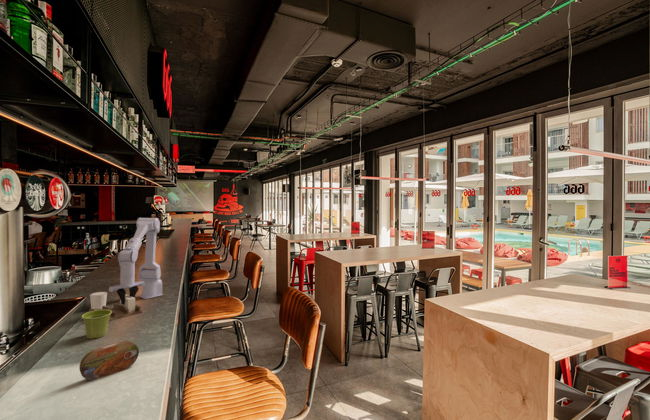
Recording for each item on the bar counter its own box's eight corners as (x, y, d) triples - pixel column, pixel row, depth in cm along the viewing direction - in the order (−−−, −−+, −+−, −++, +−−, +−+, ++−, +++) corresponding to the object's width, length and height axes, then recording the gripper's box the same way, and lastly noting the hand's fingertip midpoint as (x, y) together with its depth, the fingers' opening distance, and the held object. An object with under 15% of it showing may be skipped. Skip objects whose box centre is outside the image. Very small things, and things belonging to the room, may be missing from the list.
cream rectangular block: (126, 306, 149) (127, 294, 149) (135, 310, 144) (135, 298, 143) (119, 308, 146) (120, 295, 146) (128, 312, 141) (128, 299, 141)
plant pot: (117, 332, 121) (117, 311, 121) (92, 342, 112) (92, 319, 112) (100, 329, 124) (101, 308, 124) (75, 338, 116) (75, 316, 115)
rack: (128, 306, 152) (128, 300, 152) (141, 312, 144) (141, 306, 144) (87, 315, 138) (87, 309, 138) (99, 323, 130) (99, 316, 130)
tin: (80, 385, 87) (80, 356, 87) (78, 380, 89) (78, 352, 89) (139, 364, 98) (139, 339, 98) (135, 361, 100) (136, 336, 100)
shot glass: (97, 310, 145) (97, 296, 145) (86, 309, 146) (86, 294, 146) (110, 305, 152) (110, 292, 152) (99, 304, 153) (99, 290, 153)
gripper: (113, 279, 137) (113, 309, 137) (147, 273, 148) (147, 301, 149) (107, 276, 141) (107, 305, 141) (141, 271, 153) (140, 298, 153)
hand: (127, 303), depth 145 cm, fingers closed on cream rectangular block, 3 cm apart
